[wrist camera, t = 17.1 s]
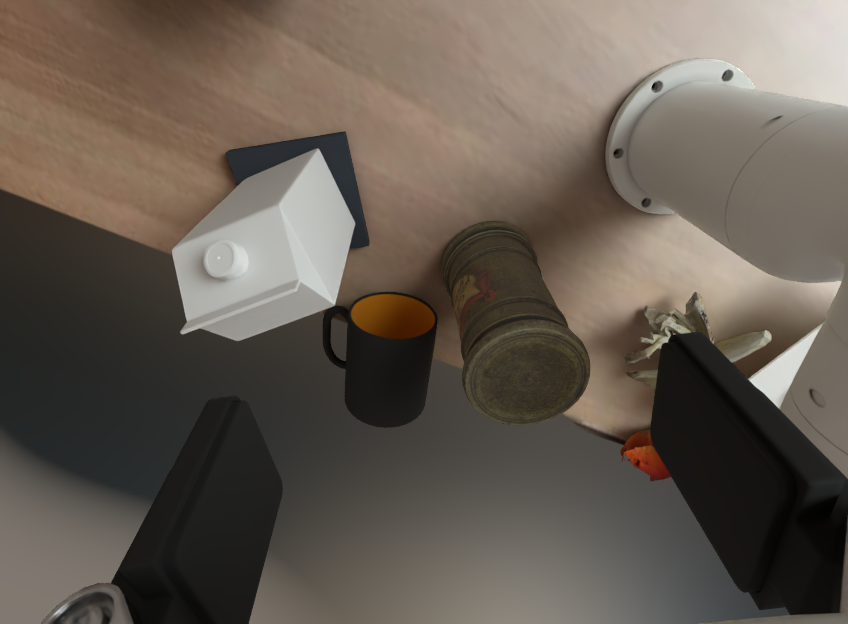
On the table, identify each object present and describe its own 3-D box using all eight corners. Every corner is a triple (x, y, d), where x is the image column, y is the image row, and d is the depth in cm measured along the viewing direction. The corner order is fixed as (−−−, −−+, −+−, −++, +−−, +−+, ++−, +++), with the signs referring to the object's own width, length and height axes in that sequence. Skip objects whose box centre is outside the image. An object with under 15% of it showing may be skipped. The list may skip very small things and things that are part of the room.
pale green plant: (581, 323, 54) (710, 256, 43) (671, 357, 61) (802, 306, 49) (592, 398, 49) (739, 345, 38) (687, 425, 56) (836, 386, 45)
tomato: (628, 435, 54) (618, 415, 61) (624, 495, 54) (614, 468, 61) (708, 443, 52) (687, 422, 59) (702, 505, 52) (682, 477, 60)
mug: (345, 352, 56) (348, 272, 50) (438, 391, 52) (452, 309, 46) (298, 392, 49) (295, 305, 44) (400, 440, 45) (411, 351, 40)
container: (529, 211, 44) (596, 309, 29) (536, 295, 49) (597, 419, 33) (433, 230, 45) (448, 336, 30) (449, 311, 50) (469, 440, 34)
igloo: (895, 267, 41) (962, 306, 38) (921, 335, 53) (974, 370, 50) (702, 412, 49) (742, 457, 45) (763, 443, 61) (798, 480, 57)
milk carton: (356, 222, 43) (327, 341, 27) (286, 250, 44) (217, 380, 28) (319, 146, 40) (260, 229, 24) (244, 178, 41) (137, 279, 25)
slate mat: (345, 131, 40) (344, 133, 39) (369, 241, 45) (368, 246, 44) (229, 150, 41) (225, 152, 40) (266, 257, 46) (263, 261, 45)
